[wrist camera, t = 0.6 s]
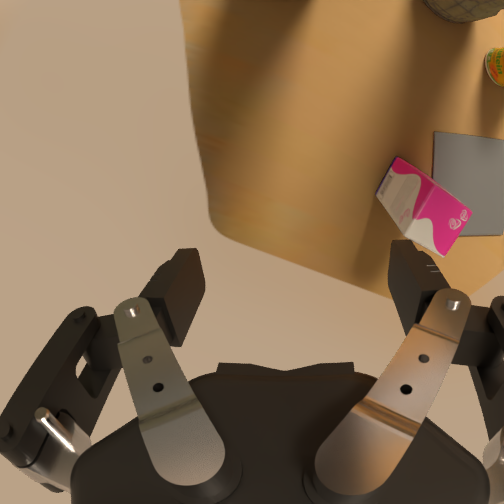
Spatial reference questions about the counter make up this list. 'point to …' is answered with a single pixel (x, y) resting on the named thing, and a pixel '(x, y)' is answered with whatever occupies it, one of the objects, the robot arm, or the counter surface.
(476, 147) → the rubber mat
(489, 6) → the thermos
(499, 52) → the supplement bottle
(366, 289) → the counter surface
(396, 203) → the supplement box
